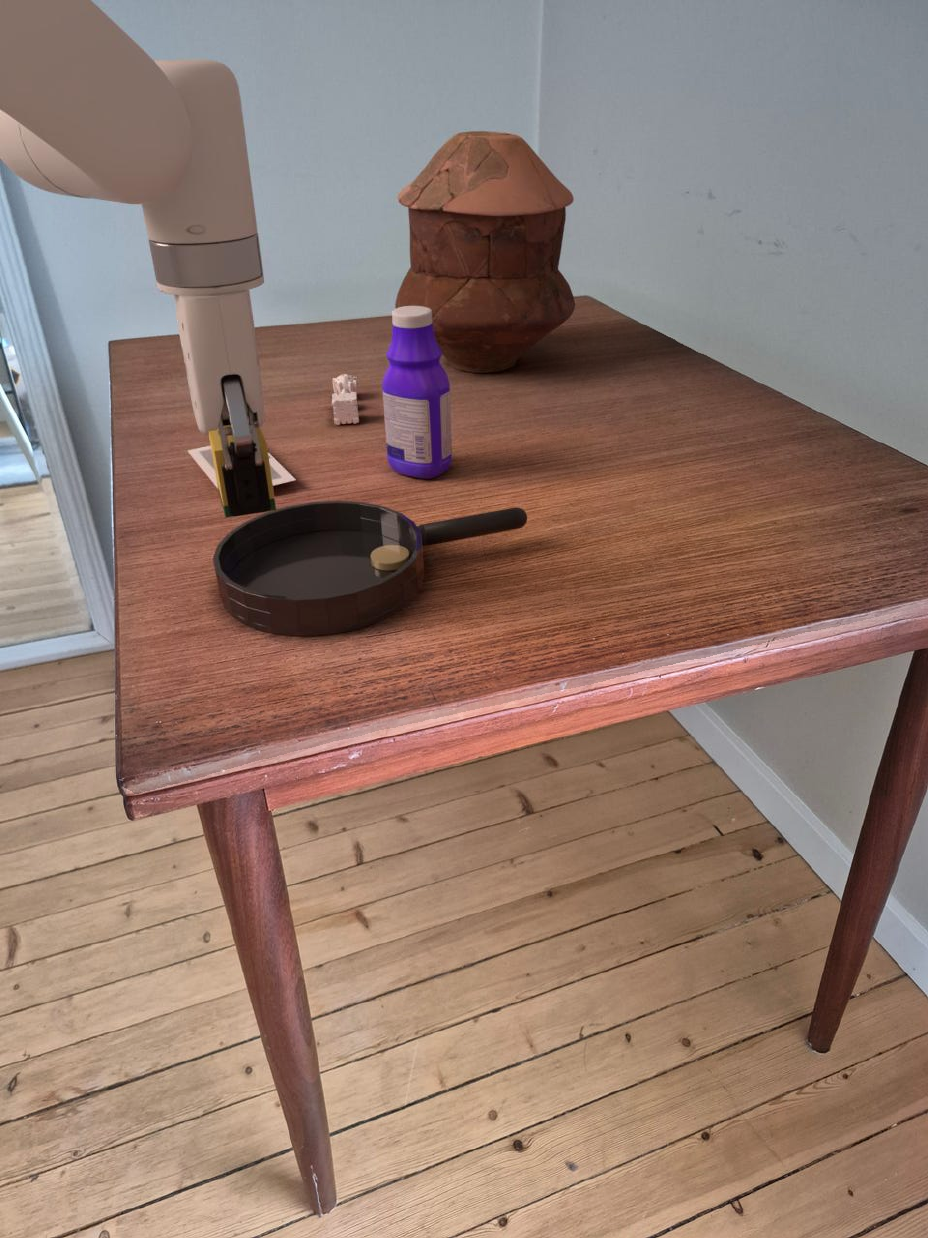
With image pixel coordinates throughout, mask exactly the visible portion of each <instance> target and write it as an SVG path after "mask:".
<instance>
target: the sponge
mask: <svg viewBox="0 0 928 1238" xmlns="http://www.w3.org/2000/svg"><path fill="white" fill-rule="evenodd" d="M249 425H250V424H249ZM223 427H224V428H226V427H231V425H225V426H223ZM256 427H257V426H256ZM257 435H258V441H259V447H260V452H261V458H262V461H264V463H265V470H266V477H267V484H268V491H269V498H270V505H271V508H270V510H269V511H268V512H271V511H274V510H277V506H276V499H275V493H274V486H273V484H272V477H271V470H270V462H269V455H268V452H269V448H268V443H267V441H266V439H265V436H264V434H263V432H262V429H261V427H260V428H257ZM227 438H228V443H229V444H230V442H233V436H232V435H229V436H227ZM208 441H209V446H210V445H211V451H212V457H213V462H214V468H215V474H216V480H217V485H218V488H217V490H218V494H219V498H220V502H221V506H222V509H223V510H222V511H223V514H224V517H225V518H232V517H234V516H232V515H231V514H230V512H229V507H228V501H227V496H226V490H225V484H224V478H223V472H222V467H225V463H224V458H223V452H222V447H221V441H220V436H219V434H218V428H217V430H214V431H209V435H208ZM229 446H230V445H229Z"/></svg>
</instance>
